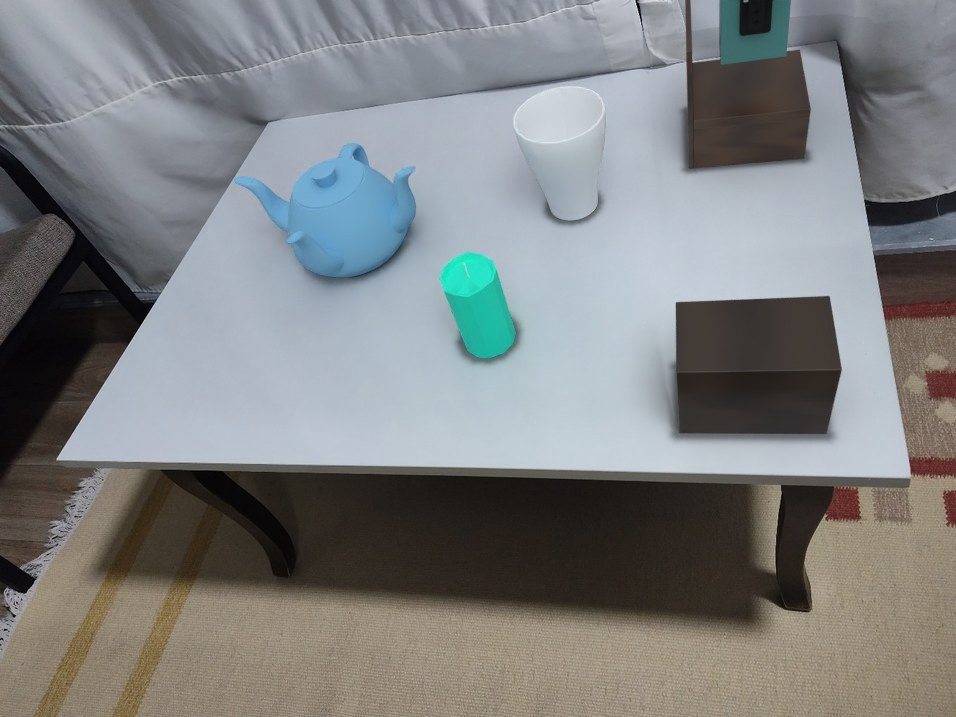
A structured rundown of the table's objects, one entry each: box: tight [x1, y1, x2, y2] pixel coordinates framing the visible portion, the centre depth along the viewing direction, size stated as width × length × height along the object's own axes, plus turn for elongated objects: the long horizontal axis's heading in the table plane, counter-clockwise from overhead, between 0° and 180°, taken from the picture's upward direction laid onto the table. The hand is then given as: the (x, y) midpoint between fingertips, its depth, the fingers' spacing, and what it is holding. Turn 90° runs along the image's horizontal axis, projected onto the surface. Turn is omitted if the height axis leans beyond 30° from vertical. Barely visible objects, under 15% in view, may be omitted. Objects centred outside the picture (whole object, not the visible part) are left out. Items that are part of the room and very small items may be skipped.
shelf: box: [684, 0, 812, 169], centre depth 90 cm, size 13×12×16 cm
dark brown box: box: [675, 295, 843, 435], centre depth 69 cm, size 13×8×10 cm, turn 81°
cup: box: [512, 85, 607, 221], centre depth 90 cm, size 10×10×14 cm
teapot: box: [233, 142, 417, 278], centre depth 96 cm, size 17×19×12 cm
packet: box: [718, 0, 792, 65], centre depth 83 cm, size 7×4×9 cm, turn 81°
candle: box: [439, 251, 517, 359], centre depth 80 cm, size 6×6×12 cm
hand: (753, 18), depth 84 cm, fingers closed on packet, 4 cm apart
